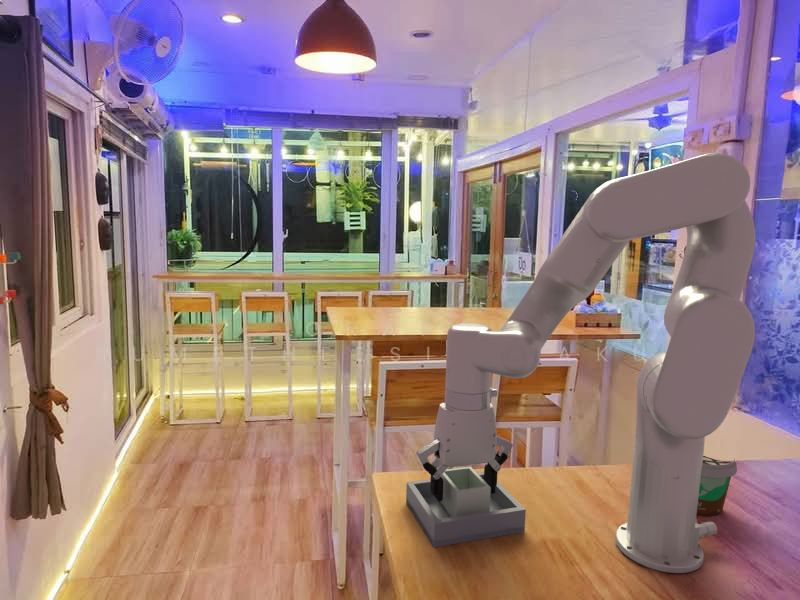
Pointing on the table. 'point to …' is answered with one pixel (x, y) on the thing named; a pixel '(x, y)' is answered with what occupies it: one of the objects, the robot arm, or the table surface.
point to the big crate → (447, 531)
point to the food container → (714, 486)
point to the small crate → (464, 492)
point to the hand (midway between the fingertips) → (463, 493)
